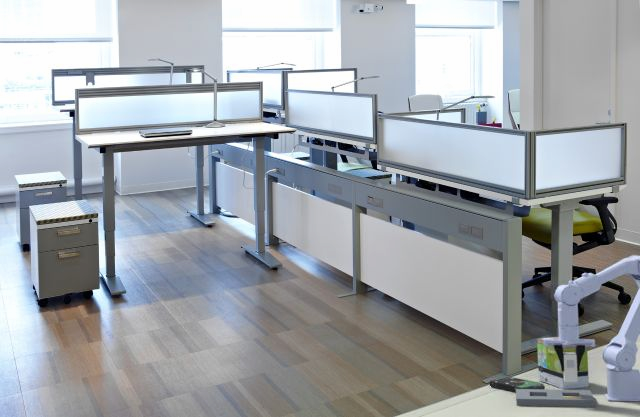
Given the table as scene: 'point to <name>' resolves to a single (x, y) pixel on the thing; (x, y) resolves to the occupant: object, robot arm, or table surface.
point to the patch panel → (554, 398)
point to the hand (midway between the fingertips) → (570, 370)
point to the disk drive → (515, 384)
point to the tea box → (559, 366)
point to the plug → (570, 367)
